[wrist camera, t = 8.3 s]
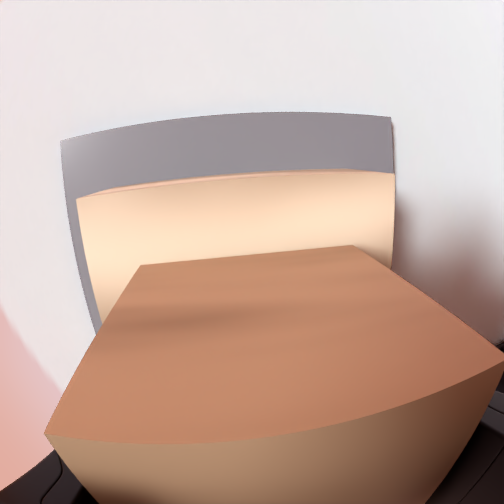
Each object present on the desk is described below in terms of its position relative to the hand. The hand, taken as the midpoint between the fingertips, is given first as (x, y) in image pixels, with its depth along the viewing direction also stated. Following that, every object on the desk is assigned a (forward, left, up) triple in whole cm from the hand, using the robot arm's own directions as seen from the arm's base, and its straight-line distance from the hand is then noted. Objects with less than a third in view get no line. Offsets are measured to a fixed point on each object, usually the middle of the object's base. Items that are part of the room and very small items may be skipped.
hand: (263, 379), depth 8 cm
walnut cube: (0, 0, -2) cm, 2 cm away
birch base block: (0, 0, -6) cm, 6 cm away
